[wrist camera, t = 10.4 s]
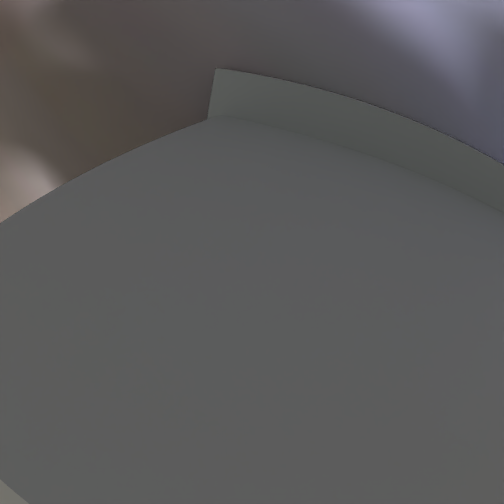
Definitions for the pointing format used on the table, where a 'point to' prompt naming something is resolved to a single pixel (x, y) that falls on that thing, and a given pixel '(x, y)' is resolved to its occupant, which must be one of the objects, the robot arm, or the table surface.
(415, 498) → the screen
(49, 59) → the table surface
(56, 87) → the table surface
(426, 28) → the table surface
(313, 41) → the table surface
